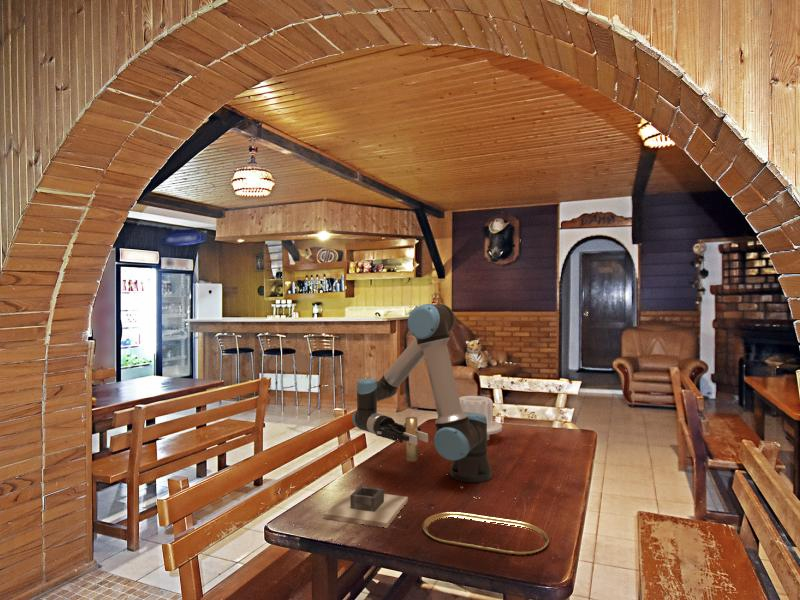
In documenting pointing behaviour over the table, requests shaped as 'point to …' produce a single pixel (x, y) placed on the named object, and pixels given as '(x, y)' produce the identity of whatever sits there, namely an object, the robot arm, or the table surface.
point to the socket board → (367, 507)
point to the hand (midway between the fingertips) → (421, 439)
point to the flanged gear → (481, 411)
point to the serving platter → (487, 519)
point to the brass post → (411, 448)
